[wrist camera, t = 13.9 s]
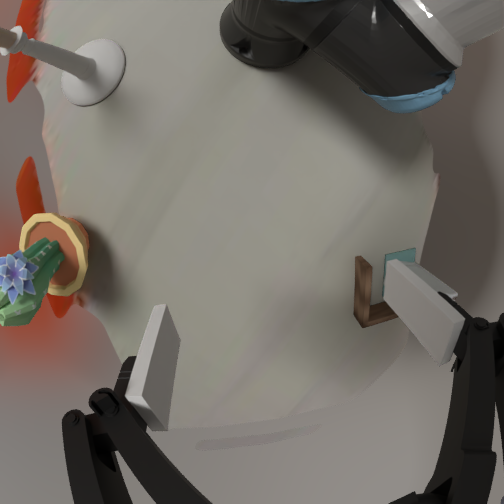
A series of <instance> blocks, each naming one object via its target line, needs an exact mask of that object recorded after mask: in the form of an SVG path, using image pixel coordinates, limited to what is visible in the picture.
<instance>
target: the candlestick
mask: <svg viewBox="0 0 504 504" xmlns="http://www.w3.org/2000/svg"><path fill="white" fill-rule="evenodd" d="M19 51H22V52H23V54H25V55H26V54H27V55H29V56H32V57H34V58H36V59H39V60H41V61H44V62H46V63H48V64H50V65H53V66H55V67H57V68H60V69H62V70H64V71H63V74H62V81H61V84H62V90H63V93H64V95H65V97H66V98H67V99H68V100H69V101H70V102H71V103H73V104H76V105H80V106H88V105H92V104H95V103H98V102H100V101H101V100H103V99H104V98H106V97H107V96H108V95H109V94H110V93H111V92H112V91H113V90H114V89H115V88H116V86H117V85H118V83H119V82H120V80H121V78H122V75H123V73H124V69H125V55H124V52H123V50H122V48H121V47H120V46H119V45H118V44H117V43H116V42H114V41H112V40H109V39H97V40H93V41H90V42H88V43H86V44H84V45H83V46H81V47H80V48H79V49H78V50H77V51H76V52H75V53H73V52H71V51H68V50H65V49H62V48H59V47H56V46H53V45H50V44H47V43H44V42H41V41H37V40H35V39H33V38H32V39H28V38H27V35H26V33H24V32H22V27H21V26H16V27H14V28H12V29H11V30H10V31H9V30H7V29H4V28H0V53H1V55H3V56H5V55H8V54H9V53H13V54H14V53H17V52H19Z"/></svg>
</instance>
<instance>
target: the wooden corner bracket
mask: <svg viewBox="0 0 504 504" xmlns="http://www.w3.org/2000/svg"><path fill="white" fill-rule="evenodd" d="M371 282H372V266H371V265H370V264H369V263H368V262H367V261H366V260H365V259H364V258H363V257H362V256H357V257H355V295H354V316H355V318H356V319H357V321H358V322H359V324H360V325H361V327H362V328H365V327H368V326H372V325H375V324H378V323H382V322H385V321H388V320H391V319H394V318H397V317H399V316H398V315H397V314H396V313H395V312H394V311H393V309H392V308H391V307H390V306H389V305H388V304H387V302H386V301H385V302H382V303H379V304H375V305H371V306H370V297H371Z"/></svg>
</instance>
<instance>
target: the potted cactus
mask: <svg viewBox="0 0 504 504" xmlns="http://www.w3.org/2000/svg"><path fill="white" fill-rule="evenodd" d="M19 247H20V250H19V251H17V252H16V253H14V254H12V255H10V254H8V255H7V257H0V323H1V325H2V326H20V325H26V324H29V323H30V321H31V320H32V318H33V317H34V315H35V314H36V312H37V311H38V310H39V308H40V307H41V302H42V299H43V297H44V296H45V295H46V293H47V292H48V293H50V294H51V295H60V296H69V295H71V294H72V293H74V292H75V291H77V290H78V289H79V288H81V286H82V284H83V281H84V277H85V274H86V271H87V268H88V259H87V258H88V250H89V247H90V245H89V238H88V234H87V232H86V230H85V229H84V227H83V226H82V224H81V223H79V222H78V221H76V220H75V219H73V218H66V217H64V216H60V215H59V214H57V213H41V214H34V215H33V216H32V217H31V218H30V219H29V220H28V221H27V222H26V223H25V224H24V226H23V228H22V233H21V238H20V244H19Z"/></svg>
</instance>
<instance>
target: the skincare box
mask: <svg viewBox="0 0 504 504" xmlns="http://www.w3.org/2000/svg"><path fill="white" fill-rule="evenodd" d="M400 262H401V263H403V264H404V265H405V266H406V267H407V268H409V269H410V270H411V271H412V272H414V273H415V274H416V275H417V276H418V277H419V278H421V279H422V280H423V281H424V282H425V283H427V284H428V285H429V286H430V287H431V288H432V289H433V290H435V291H436V292H439V291H440V292H442V293H444V294H446V295H448V296H449V297H450V298H451V299H453V301H455V300H456V298H457V295H458V293H457V292H455V291H454V290H453V289H452V288H450V287H449V286H448V285H446V284H445V283H443V282H442V281H441V280H439V279H438V278H437V277H435V276H434V275H433V274H431V273H430V272H428V271H427V270H426V269H424V268H423V267H421V266H420V265H419V264H417V263H415V262H406V261H400ZM385 278H386V275H385ZM385 278H384V281H383V285H384V286H385Z"/></svg>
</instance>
